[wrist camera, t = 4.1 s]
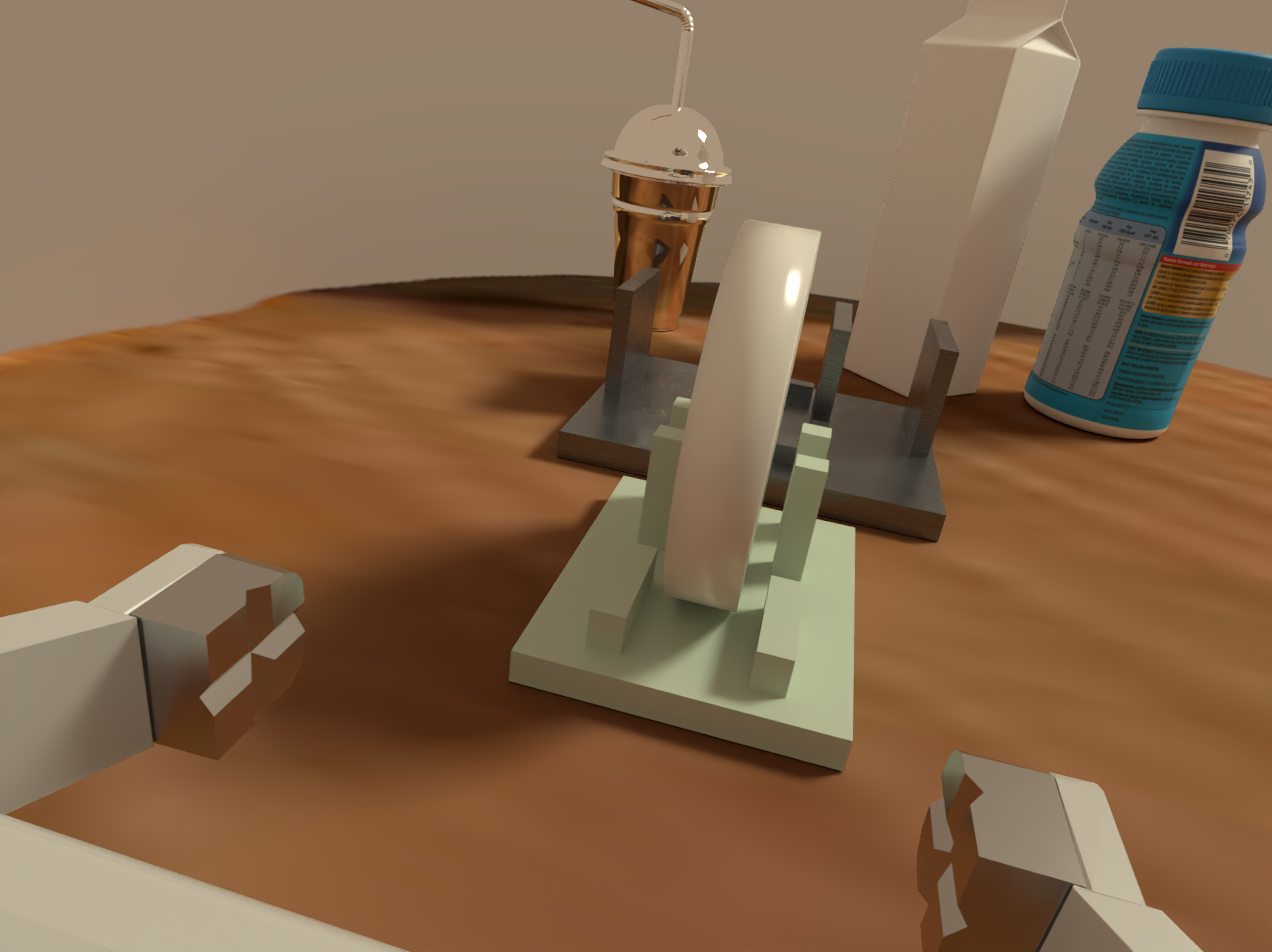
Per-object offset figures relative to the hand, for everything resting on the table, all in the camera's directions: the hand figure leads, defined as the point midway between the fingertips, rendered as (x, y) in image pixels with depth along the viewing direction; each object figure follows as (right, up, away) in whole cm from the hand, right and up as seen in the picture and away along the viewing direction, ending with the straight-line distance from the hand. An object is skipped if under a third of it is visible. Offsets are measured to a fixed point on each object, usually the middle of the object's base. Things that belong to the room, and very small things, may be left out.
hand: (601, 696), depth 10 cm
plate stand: (+3, -1, +17) cm, 17 cm away
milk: (+18, +9, +44) cm, 48 cm away
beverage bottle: (+28, +6, +42) cm, 51 cm away
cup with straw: (+1, +13, +48) cm, 50 cm away
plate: (+3, -1, +17) cm, 17 cm away
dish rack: (+6, +4, +30) cm, 31 cm away
